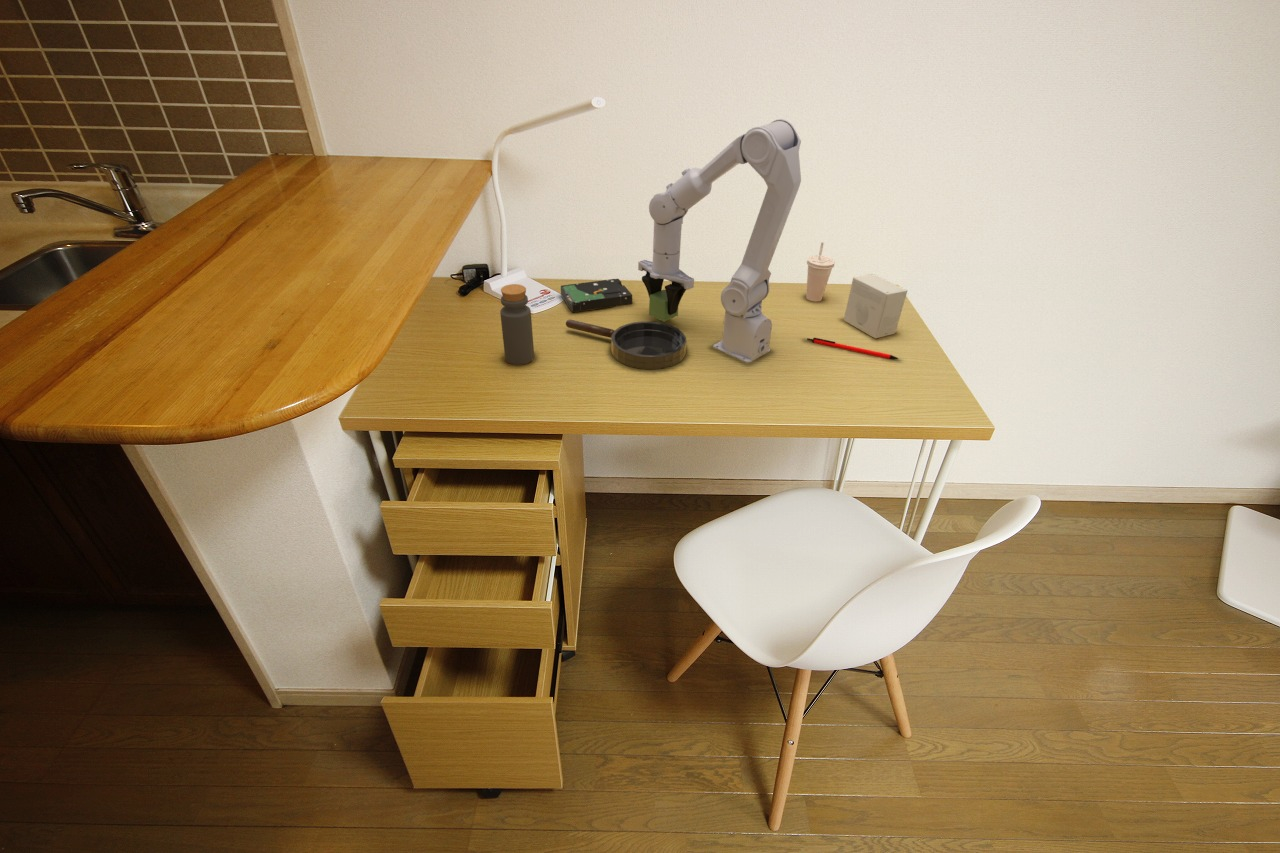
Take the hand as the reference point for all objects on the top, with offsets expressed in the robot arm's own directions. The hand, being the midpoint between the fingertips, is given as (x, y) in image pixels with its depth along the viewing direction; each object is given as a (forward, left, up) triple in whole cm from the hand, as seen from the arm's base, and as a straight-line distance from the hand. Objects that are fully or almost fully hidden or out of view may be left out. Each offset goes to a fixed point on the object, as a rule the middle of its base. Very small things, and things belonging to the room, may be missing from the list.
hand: (663, 309), depth 146 cm
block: (0, 0, -1) cm, 1 cm away
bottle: (+9, +33, -3) cm, 34 cm away
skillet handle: (+6, +17, -2) cm, 18 cm away
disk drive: (+19, +3, -3) cm, 20 cm away
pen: (-36, -20, -4) cm, 41 cm away
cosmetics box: (-33, -33, -3) cm, 47 cm away
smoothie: (-16, -37, -3) cm, 40 cm away
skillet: (-7, +12, -3) cm, 14 cm away
